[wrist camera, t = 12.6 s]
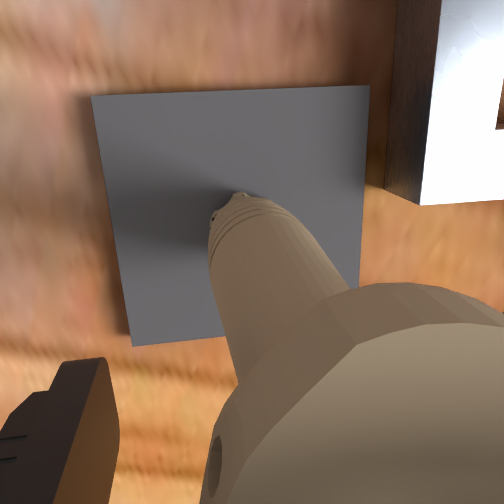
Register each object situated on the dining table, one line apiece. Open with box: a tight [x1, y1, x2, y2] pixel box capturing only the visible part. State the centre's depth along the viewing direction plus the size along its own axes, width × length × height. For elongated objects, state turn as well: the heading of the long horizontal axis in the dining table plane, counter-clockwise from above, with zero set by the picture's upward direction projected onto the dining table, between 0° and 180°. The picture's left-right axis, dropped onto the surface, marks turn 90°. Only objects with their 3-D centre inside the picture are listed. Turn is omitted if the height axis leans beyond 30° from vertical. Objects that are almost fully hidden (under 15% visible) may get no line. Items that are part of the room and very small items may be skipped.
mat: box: [90, 85, 370, 347], centre depth 20 cm, size 12×12×1 cm
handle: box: [200, 192, 504, 504], centre depth 12 cm, size 5×6×15 cm
